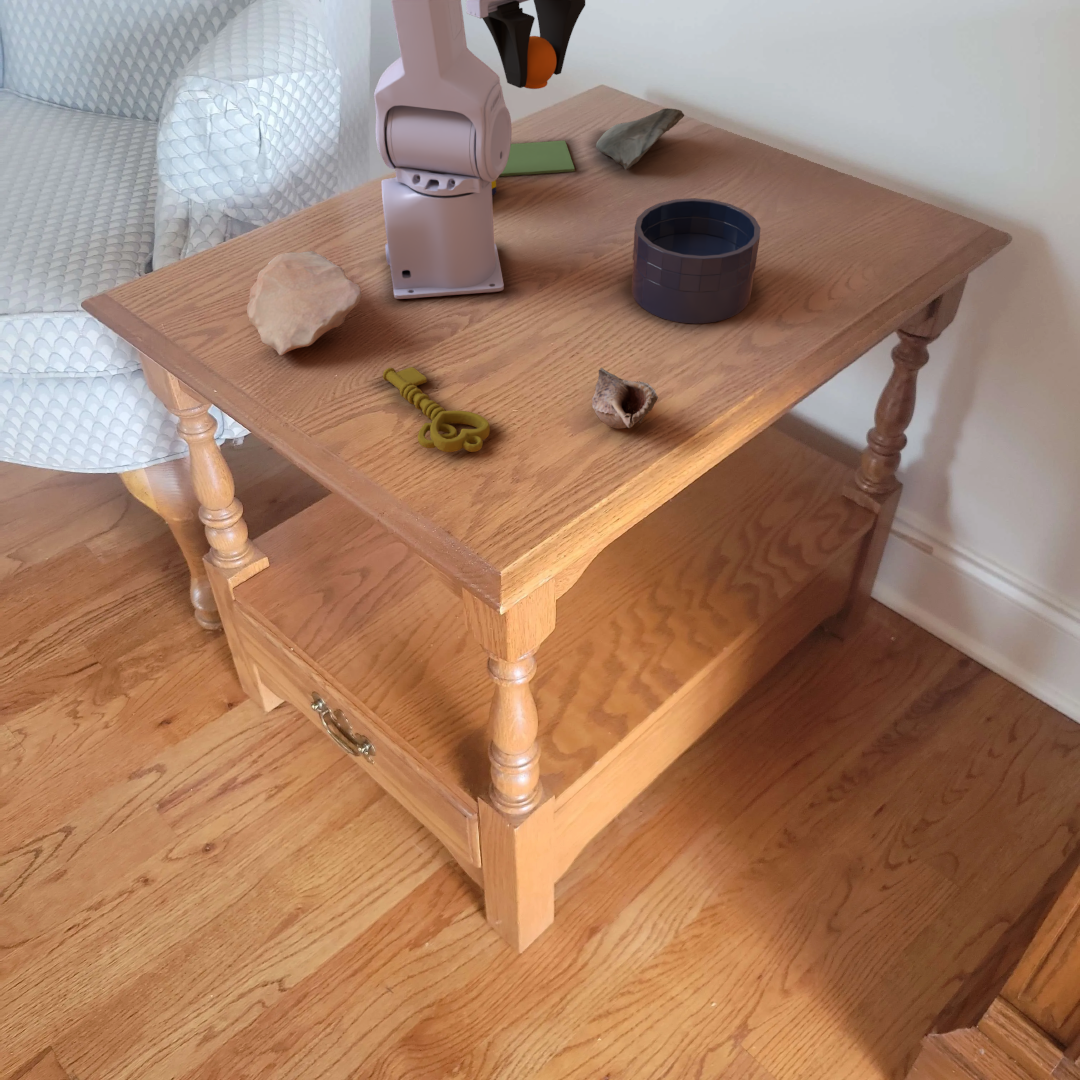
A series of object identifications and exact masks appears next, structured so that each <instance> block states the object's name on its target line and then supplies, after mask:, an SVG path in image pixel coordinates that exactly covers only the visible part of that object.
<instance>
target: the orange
mask: <svg viewBox="0 0 1080 1080" xmlns="http://www.w3.org/2000/svg"><path fill="white" fill-rule="evenodd" d="M555 68H556V54H555V51H554V49H553V47H552V45H551V44H550V43H549V42H548V41H547V40H546V39H544V38H542V37H540V35H530V38H529V45H528V55H527V81H526V86H525V87H524V88H526V89H529V90H539V89H543V88H545V87H546V86H548V81H549V80H550V79H551V78H552V77H553V75H554V74H553V73H554V71H555Z"/></svg>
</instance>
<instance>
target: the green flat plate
mask: <svg viewBox="0 0 1080 1080" xmlns="http://www.w3.org/2000/svg"><path fill="white" fill-rule="evenodd" d="M572 159H573V158H572V157H571V154H570V151H569V148H568V145H567V142H566V139H565V140H549V141H535V142H533V141H532V142H521V143H511V147H510V153H509V157H508V161H507V164H506V167H505V169H504V170H503V172H502V173H501V174H500V175H499V176H498V178H499V177H514V176H527V175H542V174H557V173H559V174H560V173H571V172H576V171H575V169H576V168H575V165H574V162H573V160H572Z"/></svg>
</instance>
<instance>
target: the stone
mask: <svg viewBox="0 0 1080 1080" xmlns="http://www.w3.org/2000/svg"><path fill="white" fill-rule="evenodd" d="M684 117H685V114H684V112H683V111H682V110H680V109H676V108H661V109H660V110H658V111H656V112H653V113H651V114H649V115H646V116H644V117H641V118H638V119H636V120H631V121H627V122H621V123H617V124H614V125H613V126H611V127H610V128H609V129H607V130H606V131H605V132H603V134H602V135H601V136H600V137H599V139H598V140H597V141H596V145H595V148H596V149H597V150H598V151H599V152H601V153H602V154H603V155H605V156H608V157H611V158H612V159H613V161H614V162H616V163H617V164H619V165H621V166H623V169H624V170H625V171H626V170H628V169H630V168H631V167H633V165H636V164H637V163H638V162H639V161H640V160H641V158H642V157H643V156H644V155H645V154H646V153H647V152H649V150H650V149H651V148H652V146H653V145H654V144H656V142H657V141H658V140H659V139H661V137H662V136H663V135H664V134H666V133H667V132H668V131H670V130H671V129H672V128H674V127H675V126H676V125H677V124H678V123H679V122H680V121H681V120H682V119H683V118H684Z"/></svg>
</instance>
